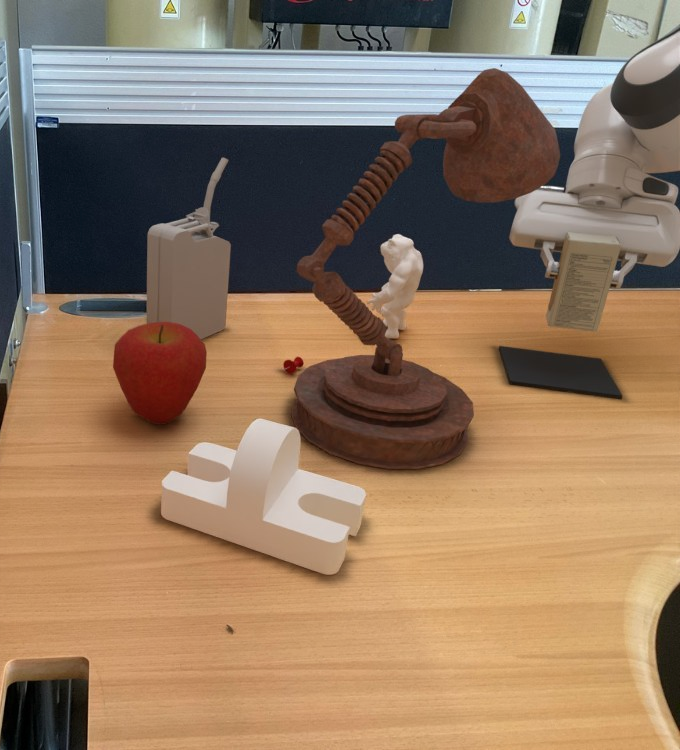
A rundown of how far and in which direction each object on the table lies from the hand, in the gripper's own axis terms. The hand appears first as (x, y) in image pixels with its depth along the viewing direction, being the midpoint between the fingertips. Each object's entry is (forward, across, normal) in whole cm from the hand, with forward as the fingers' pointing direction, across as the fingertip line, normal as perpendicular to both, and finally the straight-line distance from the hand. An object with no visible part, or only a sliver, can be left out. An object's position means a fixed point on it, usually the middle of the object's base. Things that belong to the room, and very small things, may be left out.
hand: (582, 281), depth 100 cm
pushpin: (+22, -34, -2) cm, 40 cm away
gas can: (+18, -51, +2) cm, 54 cm away
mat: (+9, 0, +10) cm, 14 cm away
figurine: (+7, -24, +12) cm, 28 cm away
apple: (+36, -44, -16) cm, 59 cm away
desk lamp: (+27, -19, -7) cm, 34 cm away
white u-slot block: (+45, -27, -26) cm, 58 cm away
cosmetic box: (+4, 0, +5) cm, 7 cm away
